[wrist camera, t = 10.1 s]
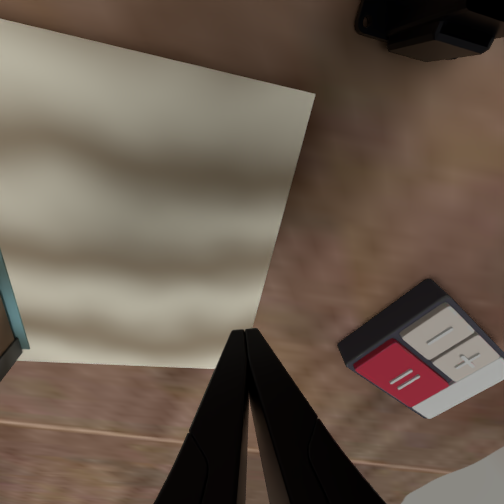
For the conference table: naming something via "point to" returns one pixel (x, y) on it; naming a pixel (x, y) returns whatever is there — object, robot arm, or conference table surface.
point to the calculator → (424, 352)
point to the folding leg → (7, 344)
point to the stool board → (136, 199)
